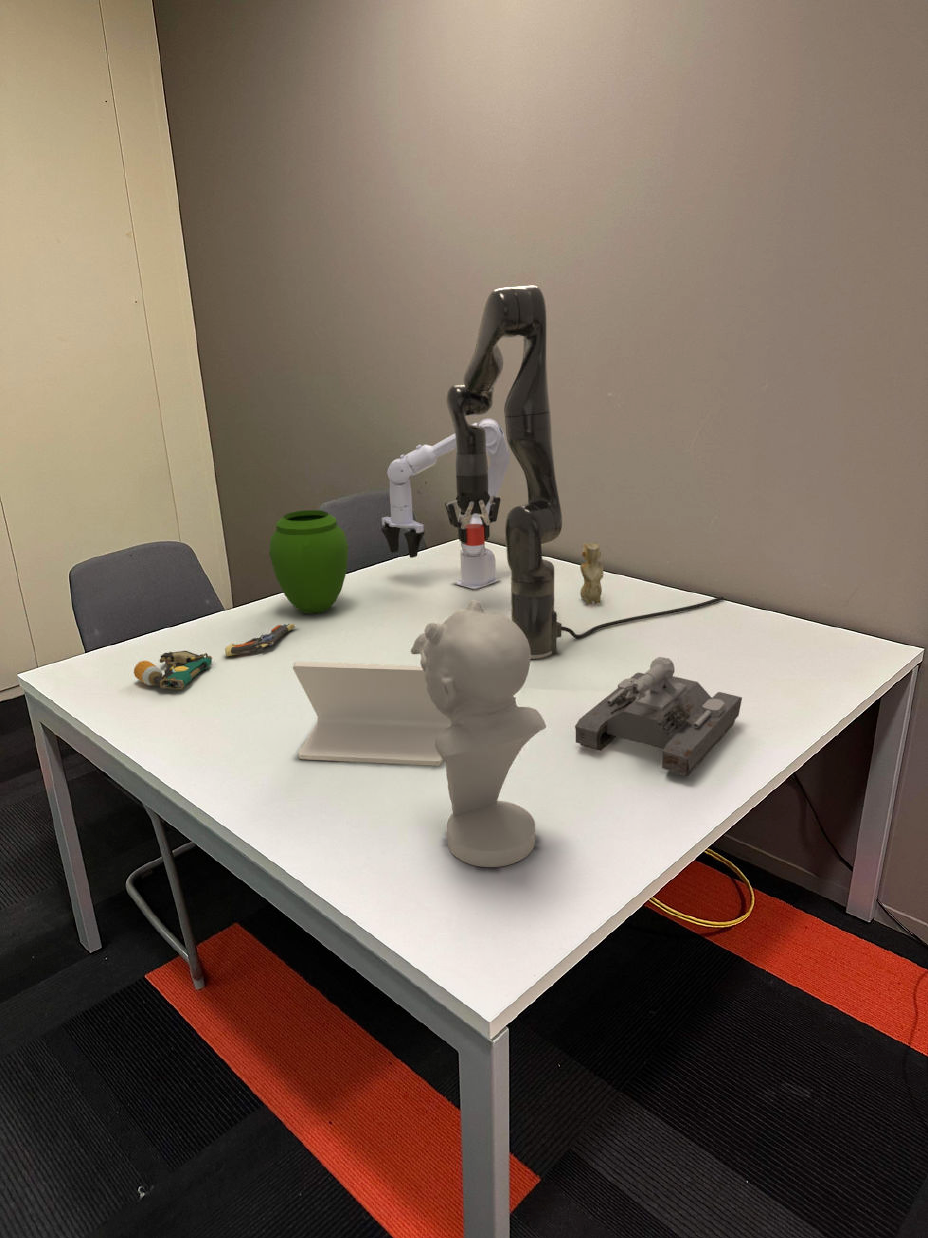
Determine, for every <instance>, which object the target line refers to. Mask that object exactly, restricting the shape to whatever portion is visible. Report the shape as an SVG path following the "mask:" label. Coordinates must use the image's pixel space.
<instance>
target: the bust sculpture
mask: <svg viewBox="0 0 928 1238" xmlns="http://www.w3.org/2000/svg"><path fill="white" fill-rule="evenodd" d="M530 653H531V652H530V646H529V643H528V640H527V638H526V636H525V634H524V633H523V632H522V630H521V629H520V628H519V627H518V626H517V625H516V624H515V623H514V622H513V621H512V620H511V618H508V617H507V616H504V615H503V614H502V615H501V614H496V613H485V609H484V607H483V605H482V603H481V602H480V601H478V600H473V599H472V600H470V601H469V603H468V605H467V607H466V609H460V610H457V611H455V612H453V613H451V615H449V616H448V617H447V618H446V619H445V620H444V622H442V624H441V623H435V622H430V623H428V624H427V625H426V626H425V628H424V632H423V633H421V634H419V635H418V636H417V637H416V638H415V640H414V642H413V645H412V647H411V649H410V654H412V655H420V666H421V667H422V669H423V670H424V671H425V681H426V683H427V691H428V693H429V695H430V698H431V701H432V702H433V703H434V704H435V706H436V708H437V709H438V710H439V711H440V712H441V713H442V714H443V715H446V716H447V717H448V718H449V719H450V720H451V726H450V727H448V728H446V729H445V730H443V731H442V732H441V733H440V734H439V735H438V736H437V737H436V740H435V747H436V750H437V752H438V753H439V755H440V756H441V758H442V759H443V760H442V762H444V763H445V771H446V781H447V790H448V796H449V800H450V803H451V810H452V813H451V814H450V815H449V817H448V819H447V822H446V844H447V847H448V849H449V851H450V852H451V854H452V855H453V856H454V857H456V858H457V859H459V860H460V861H462V862H463V863H466V864H469V865H471V866H476V867H483V868H498V867H505V866H509V865H512V864H517V862H520V861H521V860H523V859H525V858H527V856H528V855H530V854H531V852H532V851H533V849H535V848H534V847H535V845H536V822H535V821H536V820H535V819H534V817H533V816H532V814H531V813H530V812H529V811H528V810H526V809H525V808H524V807H522V806H520V805H517V804H515V803H513V802H509V801H504V800H499V796H500V793H501V790H502V788H503V785H504V783H505V780H506V778H507V776H508V773H509V771H510V769H511V768H512V765H513V763H514V761H515V760H516V759H517V756H518V755H519V753H520V752H521V750H522V749H523V748H524V747H525V745H526V744H527V743H528V742H529V741H530V740H531V739H532V738H533V737H535V735H537V734H538V733H539V732H541V731H544V730H545V729H546V728H547V725H546V723H545V720H544V718H543V717H542V714H541V713H540V712H539V711H538V710H537V709H535V708H533V707H530V706H518V705H517V701H516V699H517V698H516V696H515V695H516V694H517V693H519V691H521V689H522V688H523V686H524V684H525V683H526V680H527V678H528V675H529V669H530V666H531V659H530V656H531V655H530Z"/></svg>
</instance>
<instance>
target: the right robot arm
mask: <svg viewBox="0 0 928 1238" xmlns="http://www.w3.org/2000/svg"><path fill="white" fill-rule="evenodd" d="M547 323H548V322H547V305H546V300H545V297H544V294H543V291H542V289H541V288H540V287H538V286H536V285H523V286H507V287H500V288H499V287H498V288H496V289H494V290H493V291H491V293H490V294H489V295H488V297H487V299H486V302H485V305H484V309H483V312H482V317H481V321H480V325H479V330H478V335H477V340H476V346H475V349H474V352H473V354H472V357H471V360H470V361H469V364H468V365H467V368H466V370H465V372H464V375H463V384H461V383H460V384H454V385H452V386H450V387H449V389H448V390H447V393H446V399H445V401H446V406H447V409H448V413H449V416H450V418H451V422H452V425H453V430H454V433H455V435H456V449H455V451H456V452H455V453H456V454H455V477H456V478H455V481H456V482H455V483H456V498H455V500H452V501H446V502H445V503H444V507H445V510H446V514H447V518H448V521H449V524H450V526H452V527H454V528H457V531H458V532H457V533H458V534H457V536H458V540H459V542H460V544H461V543H463V544H467V529H466V528H465V527H466V525H467V524H468V521H470V517H471V516H473V514H478V515H479V517H480V519H481V522H482V525H484V537H485V542H486V541H489V538H490V536H491V534H490V533H491V531H490V525H491V524H492V523H496V522H497V520H498V517H499V512H500V511H499V510H500V505H501V498H500V497H499V496H490V495H489V494H488V469H489V465H488V464H489V461H488V454H487V452H486V432H485V429H484V428H483V427H481V426H477V425H478V424H477V425H472V424H469V423H468V421H467V419H466V417H468V416H469V417H471V416H482V415H485V414H487V413H489V412H490V410H491V409H492V407H493V403H494V402H493V401H494V389H495V385H496V384H497V382H498V380H499V378H500V376H501V374H502V372H503V369H504V357H503V355H502V352H501V349H500V347H499V346H498V343H499V342H500V340H501V339H503V338H506V339H510V338H519V337H522V339H523V351H522V352H523V353H522V360H521V364H520V366H519V370H518V372H517V375H516V378H515V379H514V381H513V382H512V384H511V387H510V390H509V392H508V395H507V397H506V400H505V402H504V407H503V408H504V410H503V412H504V424H505V425H504V426H505V433H506V440H507V441H506V442H507V443H508V444H507V445H508V446H509V448H510V450H511V452H512V454H513V456H514V457H515V459H516V461H517V462H518V464H519V466H520V468H521V469H522V471H523V474H524V477H525V480H526V487H527V503H523V504H520V505H517V506H515V507H512V509H510V510H509V512H508V514H507V516H506V520H505V526H504V527H505V530H504V533H505V547H506V561H507V565H508V568H509V570H510V588H511V589H510V597H511V599H510V603H511V604H510V606H511V607H510V609H511V610H510V615H511V617H510V619H511V620H512V621H513V622H514V623H515V624H516V625H517V626H518V627H519V628H520V629H521V630H522V632H523V633H524V634H525V636H526V638H527V640H528V643H529V646H530V652H531V653H530V655H531V656H530V660H540V659H545V658H548V657H550V656H552V655H557V654H558V653H557V650H558V649H557V648H558V647H557V645H558V644H557V643H558V638H561V637H562V632H563V631H564V632H567V633H569V634H570V635H571V636H572V637H573V638H574V639H577V640H578V639H579V640H580V639H584V638H586V637H588V636H590V635H591V634H592V633H594V632H596V631H598V630H602V629H605V628H608V627H611V626H615V625H620V624H626V623H630V622H635V621H639V620H640V621H641V620H645V619H649V618H654V617H661V616H666V615H672V614H676V613H680V612H685V611H690V610H694V609H697V608H702V607H705V606H708V605H709V606H710V605H712V604H714V603H718V602H720V601H723V600H724V598H725V597H724V596H723V595H722V596H718V597H716V598H712V599H710V600H707V601H704V602H700V603H696V604H693V605H688V606H687V605H686V606H683V607H679V608H673V609H669V610H663V611H657V612H652V613H646V614H641V615H636V616H630V617H627V618H621V619H618V620H613V621H610V622H605V623H601V624H599V625H596V626H594V627H591V628H590V629H588V630H587V631H585V632H584V633H582V634H581V633H580V634H577V633H576V632H574V630H573V629H572V628H569V627H567V626H563V623H561V622H559V621H558V613H557V612H556V611H555V565H554V564H553V562H551V561H549V560H548V559H543V552H542V551H543V550H542V549H543V548H542V546H543V545H546V544H549V543H551V542H554V541H555V540H557V538H559V536H560V534H561V532H562V528H563V515H562V507H561V503H560V496H559V490H558V485H557V478H556V471H555V461H554V460H555V459H554V450H553V439H552V438H553V436H552V435H553V434H552V417H551V416H552V415H551V407H550V406H551V405H550V396H549V385H548V370H547V369H548V368H547V367H548V366H547V333H548V332H547V328H548V327H547ZM488 502H489V503H490V510H489V515H488V513H487V511H486V508H485V507H486V505H487V504H488ZM457 506H458V508H459V509H460V510H459V513H458V516H457V513H456V511H457Z"/></svg>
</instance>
